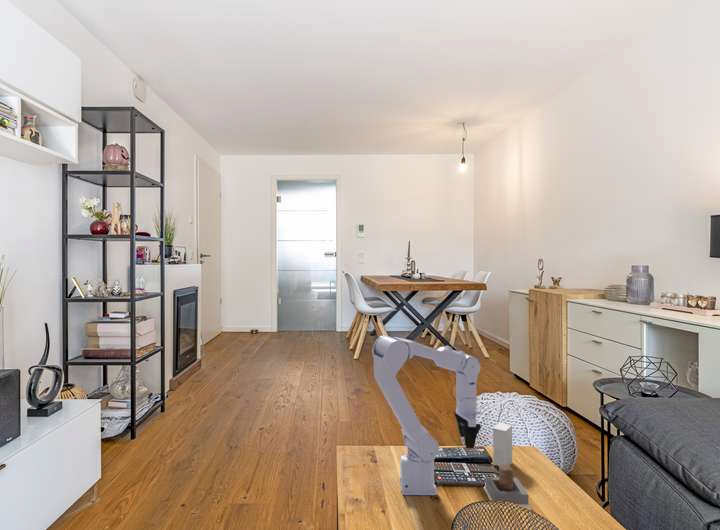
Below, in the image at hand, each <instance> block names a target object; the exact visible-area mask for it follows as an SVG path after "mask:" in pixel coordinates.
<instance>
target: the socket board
mask: <svg viewBox="0 0 720 530" xmlns="http://www.w3.org/2000/svg"><path fill="white" fill-rule="evenodd" d="M484 478H485V482H484V483H485V486H484V487H483V489H484V491H485V493H486V495H487V497H488V499H489V501H490V500H493V501H502V502H509V503H513V504H516V505H519V506H522V507H525V508H528V509H531V510H532V511H533V509H532V506H531V504H529V494H528V491H527V490H526V489H525V488H524V486H523V485H522V483H521V481H520V480H519V479H518V477H513V491H499V476H498V477H495V476H494V477H492V476H491V477H489V476H488V477H484Z"/></svg>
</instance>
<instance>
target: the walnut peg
mask: <svg viewBox="0 0 720 530" xmlns="http://www.w3.org/2000/svg"><path fill="white" fill-rule="evenodd" d="M498 477H499V491H513V478H514V468H512V467H511V466H500V467H499V468H498Z"/></svg>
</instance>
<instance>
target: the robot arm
mask: <svg viewBox="0 0 720 530" xmlns="http://www.w3.org/2000/svg"><path fill="white" fill-rule="evenodd" d="M371 353H372V357H373V378H374V380H375V382H376V383H377V385H378V387H379V389H380V391H381V392H382V394H383V396H384V398H385V399H386V402H387V403H388V405H389V407H390V408H391V410H392V412H393V414H394V416H395V417H396V420H397V421H398V423H399V425H400V426H401V430H400V432H401V433H402V435H403V443H404V445H405V446H406V447H407V454H403V455H400V459H399V461H400V465H399V466H400V467H399V468H400V469H399V470H400V476H399V483H400V487H401V489H400V490H401V494H402V495H403V496H438V491H437V487H436V484H434V483H435V460H436V459H435V458H436V457H438V456H437V455H438V454H439V451H440V446H439V445H440V444H439V442H438V440H436V439H435V438H434V437H432V436H431V435H430V432H428V430H427V429H426V428H425V426H424V425H423V424H422V423H421V421H420V419H419V417H418V416H417V415H416V412H415V411H414V408H413V406H412V405H411V402H409V400H408V398H407V396H406V394H405V392H404V390H403V389H402V387H401V385H400V383H399V381H398V380H397V378H396V377H397V374H398V372H399V371H400V370H401V368H402V367H403V365H404V364H405V363H406V361H407V359H412V358H413V357H414V356H415V357H417V356H418V357H421V358H424V359H429V360H431V361H433V362H434V364H435V365H436V367H439V368H442V369H444V370H445V369H446V370H449V371H453V372H455V378H456V379H455V380H456V383H455V384H456V385H455V386H456V388H455V392H456V409H455V411H453V414H454V417H455V419H456V422H457V427H458V431H459V436H460V438H463V439H464V440H463V441H464V445H465V448H466V449H474V448H475V445H476V439H477V437H478V433H479V432H480V430H481V428H482V426H481V424H480V423H477V416H478V415H481V414H482V411H481V410H480V409H478V407H477V405H478V403H477V401H478V400H477V398H478V397H477V381H478V379H479V378H478V377H479V376H478V375H479V373H480V371H481V370H482V369H481V368H482V365H480V363H479V360H478V359H477V357H476V356H472V355H470V354H467V353H465V351H463V350H454V349H452V347H451V346H449V345H445V346H440V347H438V348H433V347H430V346H428V345H424V344H422V343H419V342H416V341H413V340H411V339H407V338H402V337H398V336H396V337H395V336H392V337H391V336H389V335H387V334H385V335H380V336H379V337H378V338H376V340H375V342H374V343H373V347H372V349H371Z"/></svg>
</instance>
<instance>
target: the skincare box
mask: <svg viewBox="0 0 720 530" xmlns="http://www.w3.org/2000/svg"><path fill="white" fill-rule="evenodd" d="M492 442H493V443H492V445H493V446H492V447H493V448H492V449H493V450H492V451H493V453H492V454H493V455H492V457H493V459H492V460H493V465H498V466H499V467H500V466H509V467H511V465H512V464H513V424H507V423H504V422H498V423H496V425H495V426H494V427H493V428H492Z"/></svg>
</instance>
